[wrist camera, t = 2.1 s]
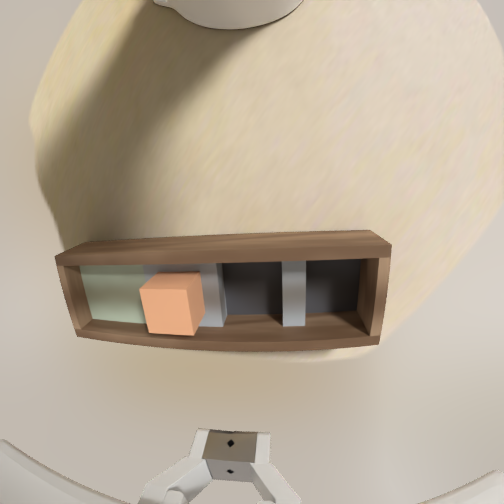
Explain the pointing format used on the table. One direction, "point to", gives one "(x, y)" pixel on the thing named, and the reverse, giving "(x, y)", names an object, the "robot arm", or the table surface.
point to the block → (173, 302)
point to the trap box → (237, 289)
